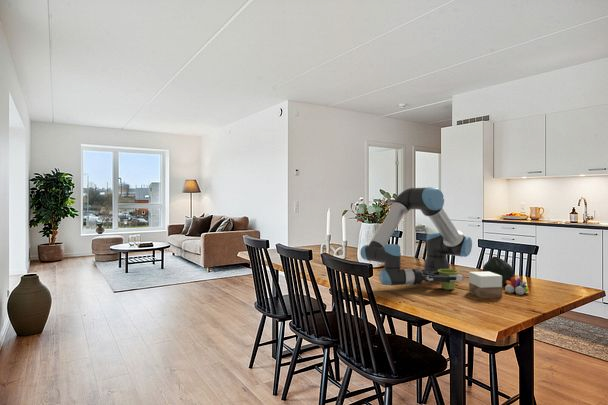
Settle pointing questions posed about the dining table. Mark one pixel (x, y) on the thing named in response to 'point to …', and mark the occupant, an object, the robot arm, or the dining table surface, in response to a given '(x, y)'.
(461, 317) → the dining table surface
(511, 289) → the rainbow petal cluster
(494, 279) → the pale top block
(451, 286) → the plant pot
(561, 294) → the dining table surface
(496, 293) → the walnut base block
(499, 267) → the squash
